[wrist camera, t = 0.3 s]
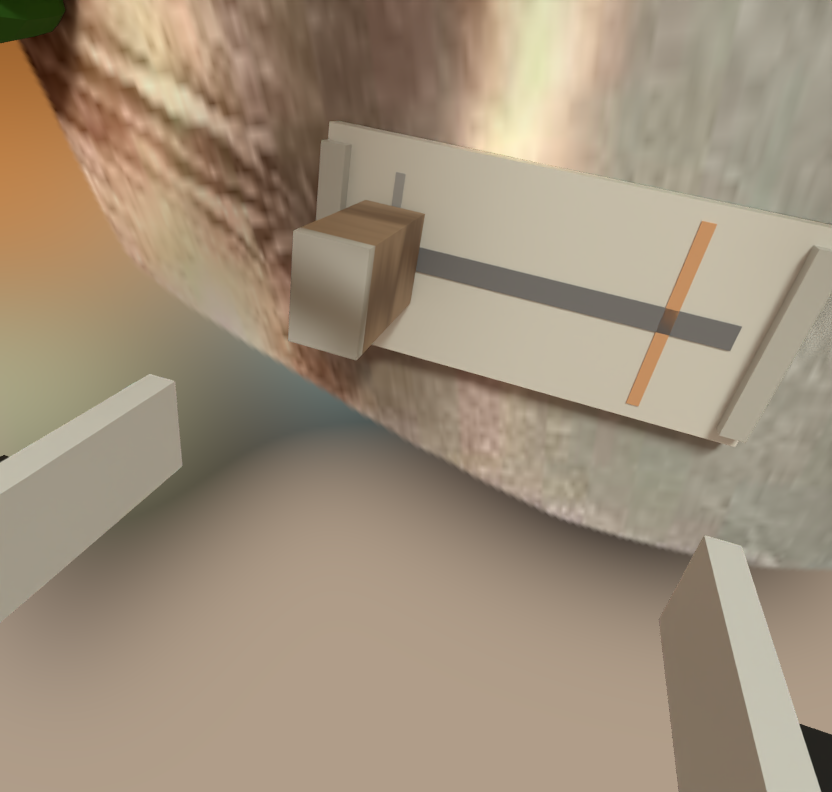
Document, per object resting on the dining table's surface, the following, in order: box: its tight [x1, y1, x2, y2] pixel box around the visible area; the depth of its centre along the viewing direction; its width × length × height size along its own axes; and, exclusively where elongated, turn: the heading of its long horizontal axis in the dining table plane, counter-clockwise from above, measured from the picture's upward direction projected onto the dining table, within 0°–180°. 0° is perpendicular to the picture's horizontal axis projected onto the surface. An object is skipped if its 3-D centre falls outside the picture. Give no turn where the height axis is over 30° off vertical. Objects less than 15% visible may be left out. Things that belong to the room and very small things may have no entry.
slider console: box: [316, 121, 832, 447], centre depth 35 cm, size 14×30×2 cm, turn 80°
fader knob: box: [288, 200, 425, 360], centre depth 32 cm, size 6×4×10 cm, turn 170°
